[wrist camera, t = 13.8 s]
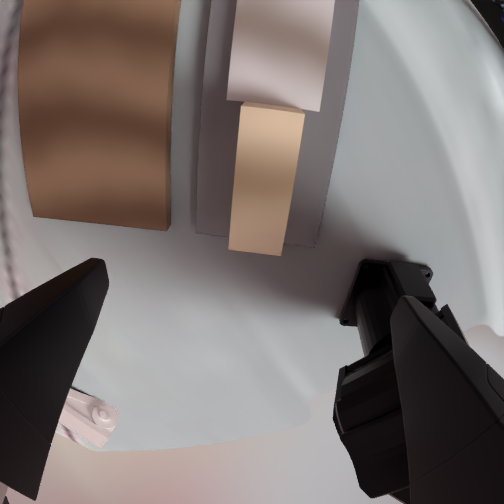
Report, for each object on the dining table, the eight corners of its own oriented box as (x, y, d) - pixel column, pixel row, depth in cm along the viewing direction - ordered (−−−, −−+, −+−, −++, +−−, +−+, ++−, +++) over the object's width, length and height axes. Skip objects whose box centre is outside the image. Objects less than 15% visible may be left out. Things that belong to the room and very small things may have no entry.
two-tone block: (295, 232, 20) (298, 258, 18) (219, 223, 20) (210, 247, 18) (332, -2, 12) (344, -15, 10) (241, -14, 12) (234, -30, 10)
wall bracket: (-5, 319, 41) (117, 414, 45) (-26, 348, 35) (99, 448, 39) (-17, 295, 34) (124, 409, 38) (-43, 328, 29) (102, 450, 33)
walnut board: (170, 224, 22) (166, 231, 21) (40, 211, 22) (33, 216, 21) (206, -129, 7) (204, -136, 6) (55, -92, 7) (48, -95, 6)
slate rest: (313, 241, 22) (314, 247, 21) (198, 227, 22) (195, 233, 21) (356, -8, 12) (360, -11, 12) (217, -26, 12) (215, -30, 12)
